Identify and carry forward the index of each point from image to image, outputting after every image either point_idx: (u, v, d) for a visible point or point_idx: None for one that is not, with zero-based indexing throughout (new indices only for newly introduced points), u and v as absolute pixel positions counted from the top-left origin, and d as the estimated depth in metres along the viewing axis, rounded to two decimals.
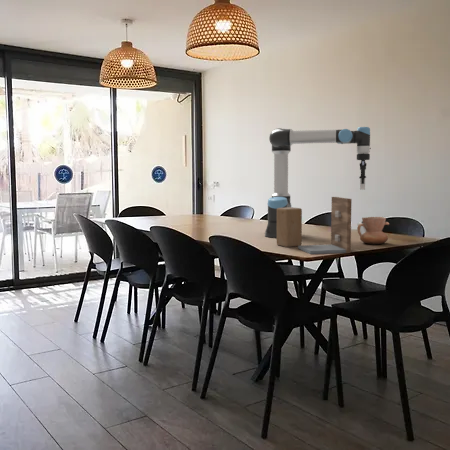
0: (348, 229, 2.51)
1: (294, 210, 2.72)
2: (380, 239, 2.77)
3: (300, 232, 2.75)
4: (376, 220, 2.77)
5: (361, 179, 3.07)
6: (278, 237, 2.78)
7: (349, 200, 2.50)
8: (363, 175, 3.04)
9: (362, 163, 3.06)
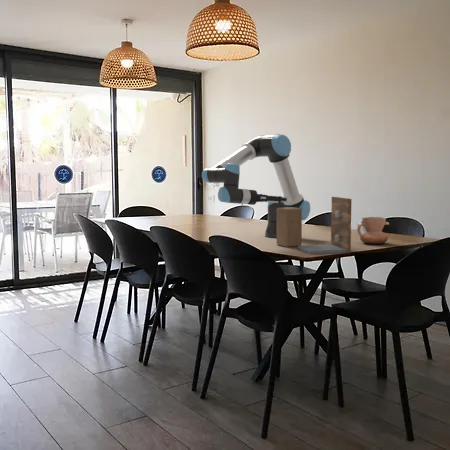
0: (348, 229, 2.51)
1: (294, 210, 2.72)
2: (380, 239, 2.77)
3: (300, 232, 2.75)
4: (376, 220, 2.77)
5: None
6: (278, 237, 2.78)
7: (349, 200, 2.50)
8: None
9: None
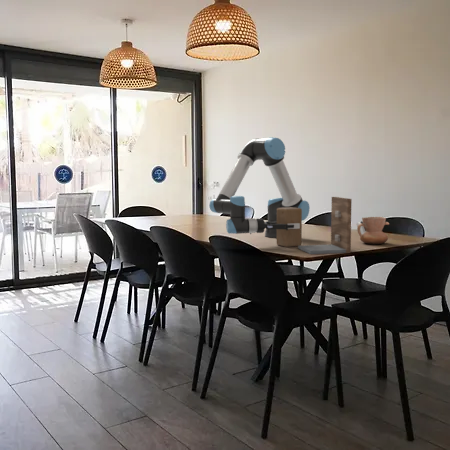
0: (348, 229, 2.51)
1: (294, 210, 2.72)
2: (380, 239, 2.77)
3: (300, 232, 2.75)
4: (376, 220, 2.77)
5: None
6: (278, 237, 2.78)
7: (349, 200, 2.50)
8: None
9: None
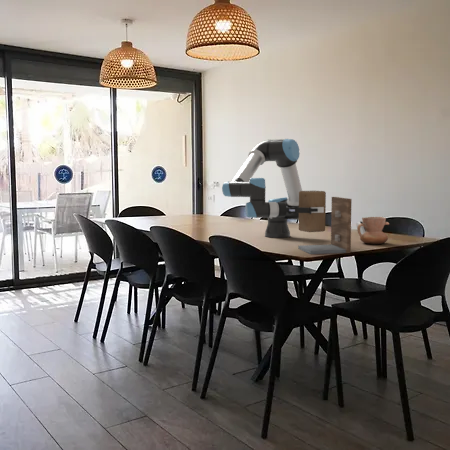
0: (348, 229, 2.51)
1: (318, 193, 2.56)
2: (380, 239, 2.77)
3: (324, 217, 2.59)
4: (376, 220, 2.77)
5: None
6: (300, 222, 2.62)
7: (349, 200, 2.50)
8: None
9: None
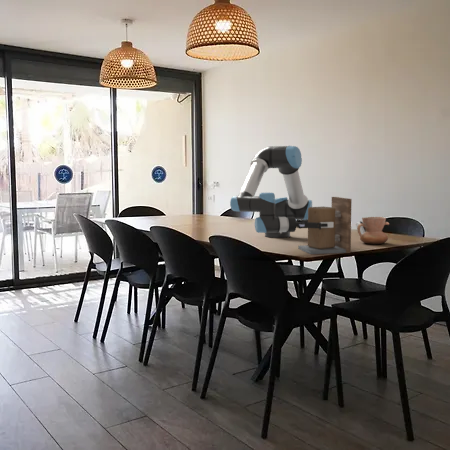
0: (348, 229, 2.51)
1: (327, 209, 2.54)
2: (380, 239, 2.77)
3: (334, 233, 2.57)
4: (376, 220, 2.77)
5: None
6: (309, 238, 2.60)
7: (349, 200, 2.50)
8: None
9: None
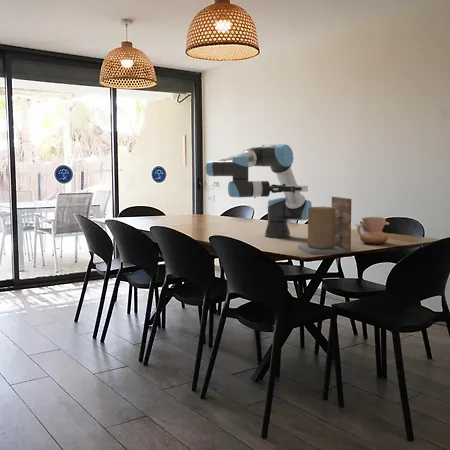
0: (348, 229, 2.51)
1: (327, 209, 2.54)
2: (380, 239, 2.77)
3: (334, 233, 2.57)
4: (376, 220, 2.77)
5: (286, 186, 2.61)
6: (309, 238, 2.60)
7: (349, 200, 2.50)
8: None
9: None
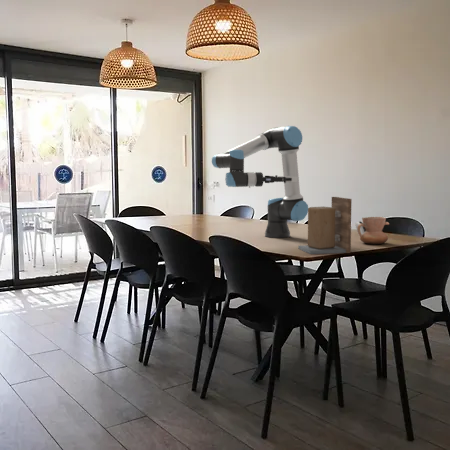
0: (348, 229, 2.51)
1: (327, 209, 2.54)
2: (380, 239, 2.77)
3: (334, 233, 2.57)
4: (376, 220, 2.77)
5: None
6: (309, 238, 2.60)
7: (349, 200, 2.50)
8: None
9: None
